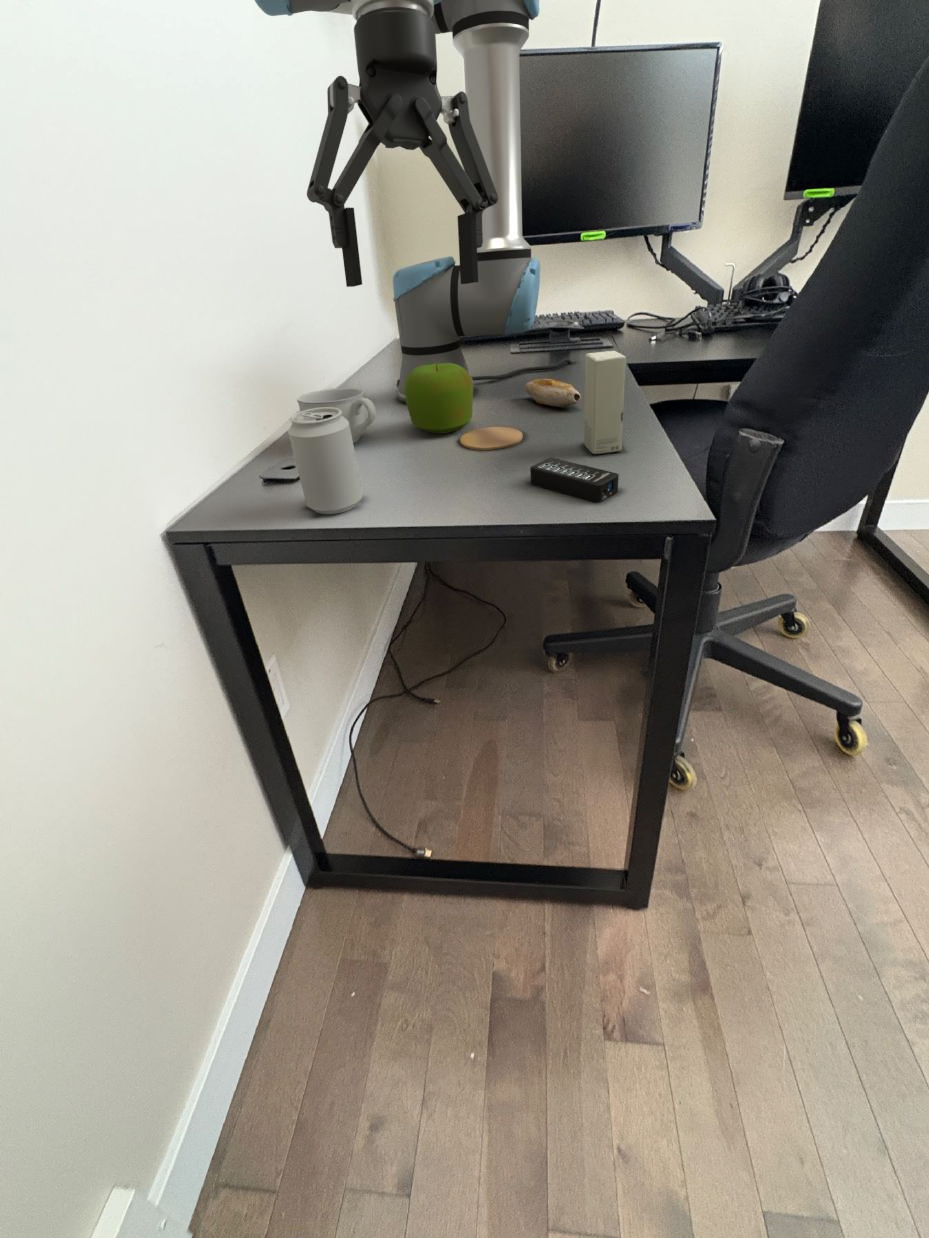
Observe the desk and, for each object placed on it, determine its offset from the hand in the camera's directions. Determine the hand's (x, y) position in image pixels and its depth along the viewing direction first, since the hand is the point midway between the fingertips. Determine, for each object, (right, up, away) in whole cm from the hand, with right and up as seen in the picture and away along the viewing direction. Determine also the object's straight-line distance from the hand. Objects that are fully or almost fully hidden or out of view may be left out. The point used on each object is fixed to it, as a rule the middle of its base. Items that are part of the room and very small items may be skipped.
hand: (414, 284), depth 65 cm
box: (+26, -11, +24) cm, 37 cm away
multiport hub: (+19, -19, +13) cm, 30 cm away
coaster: (+10, -7, +31) cm, 33 cm away
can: (-12, -21, +15) cm, 28 cm away
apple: (+2, -4, +38) cm, 38 cm away
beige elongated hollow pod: (+21, +3, +44) cm, 49 cm away
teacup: (-14, -7, +36) cm, 39 cm away
